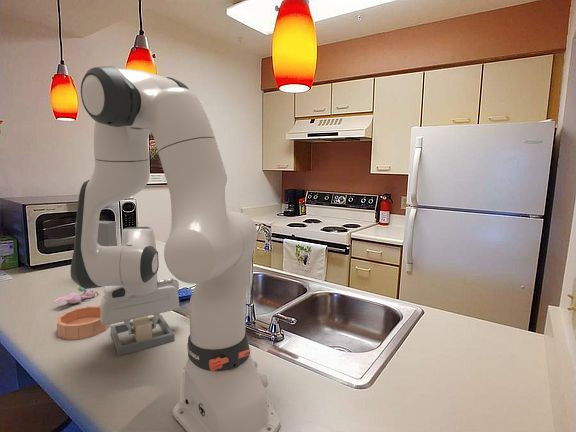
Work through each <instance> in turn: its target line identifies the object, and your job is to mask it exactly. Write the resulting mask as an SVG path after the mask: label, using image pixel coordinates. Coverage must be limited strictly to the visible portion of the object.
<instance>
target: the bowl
mask: <svg viewBox="0 0 576 432" xmlns="http://www.w3.org/2000/svg"><path fill="white" fill-rule="evenodd" d="M110 326H111V324H110V325H103V324H102V323H101V321H100V305H87V306H82V307H77V308H74V309H71V310H68V311H66V312H63V313H62V314H61V315H59V316H57V317H56V330H57V338H60V339H63V340H67V341H68V340H81V339H82V340H84V339H86V338H90V337H94V336H97V335H99V334H100V333H103V332H106V330H107V329H108V328H109V327H110Z"/></svg>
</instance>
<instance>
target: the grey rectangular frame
mask: <svg viewBox="0 0 576 432" xmlns="http://www.w3.org/2000/svg"><path fill="white" fill-rule="evenodd" d="M148 318H149V319H150V321H152V320H153V318H154V316H150V317H149V316H148ZM129 324H130V326H133V320H130V323H129ZM156 324H159V326H160V327H161V329H162V331H163V332H164V333H165V334H162V335H158V336H154V337H152V338H150V339H146V340H142V341H138V342H137V341H135V342H130V343H128V344H123V345H122V342H121V340H120V338H119V333H122V332H127V331H129V330H128V328H127V326H126V325H125V324H124V322H123V323H119V324H118V323H117V324H114V325H110V326H109V327H110V334H111V337H112V340H113V343H114V347H115V350H116V352H117V356H118V357H120V356H124V355H127V354H131V353H134V352H138V351H143V350H145V349H150V348H152V347H153V348H154V347H157V346H160V345H165V344H168V343H171V342H175V332H173V329H172V328H171V327H170V325H169V323H167V321H166V320H165V319H164V317H163V315H162V314H160V317H159V319H158V321H157V322H156Z"/></svg>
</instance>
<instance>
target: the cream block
mask: <svg viewBox="0 0 576 432" xmlns="http://www.w3.org/2000/svg"><path fill="white" fill-rule="evenodd" d="M132 321H133V325H134V327H135V333H134V334H132V335H133V336H134V340H135V342H138V341H142V340H146V339H150V338H153V329H152V323H151V321H150V319H149V316H146V317H141V318H137V319H132Z"/></svg>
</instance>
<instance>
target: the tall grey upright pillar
mask: <svg viewBox="0 0 576 432" xmlns="http://www.w3.org/2000/svg"><path fill="white" fill-rule="evenodd" d="M74 227H75V230H76V221H75V222H74ZM117 239H118V238H117V221H112V220H99V227H98V237H97V243H98V244H99V245H101V246H118V240H117Z"/></svg>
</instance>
